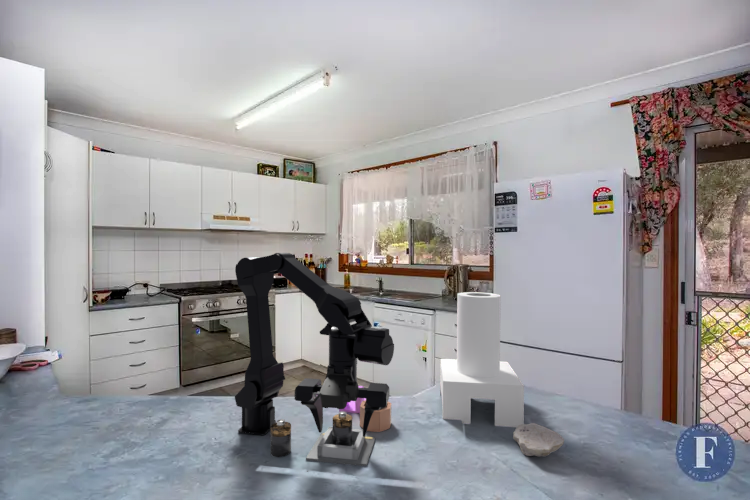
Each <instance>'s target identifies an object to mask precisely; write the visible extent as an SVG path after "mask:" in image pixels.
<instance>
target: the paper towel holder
mask: <svg viewBox="0 0 750 500" xmlns="http://www.w3.org/2000/svg"><path fill="white" fill-rule="evenodd" d="M456 298H457V299H456V300H457V301H456V303H457V306H456V309H457V312H456V315H457V316H456V358H455V359H454V358H440V368H439V369H440V373H439V375H440V378H439V379H440V380H439V382H440V388H439V389H440V390H439V391H440V395H441V404H442V405H441V406H442V410H441V411H442V412H441V413H442V415H441V416H442V420H451V421H452V420H453V421H461V424H463V425H464V424H465V425H471V422H472V421H471V409H472V408H471V407H472V405H471V404H472V403H471V402H472V401H471V400H472V399H475V400H476V399H477V400H492V401H494V426H495V427H504V428H505V427H507V428H517V426H518V425H522V424H525V422H524V421H525V419H524V416H525V411H524V410H525V409H524V408H525V385H524V384H523V382H522V381H521V379H520V377H519V376H518V375H517V373H516V372H515V370H514V369H513V368H512V366H511V365H510V363H509V362H508V361H501V295H500V294H498V293H491V292H480V291H479V292H476V291H468V292H467V291H465V292H457V297H456Z"/></svg>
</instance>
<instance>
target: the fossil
mask: <svg viewBox="0 0 750 500" xmlns="http://www.w3.org/2000/svg"><path fill="white" fill-rule="evenodd" d="M512 436H513V437H512V438H513V440H514V441H515V442H517V444H518V445H519V448H520V452H521V453H522V454H523V455H525V456H527V457H532V456H535V457H538V458H539V457H547V456H549V455H551V453H553V452H556V451H557V450H559V449H560V448H561V447H562V446H563V445H564V443H565V438H564V437H563V436H561V434H560V433H559V432H557V431H554V430H552V429H550V428H548V427H546V426H543V425H539V424H538V423H535V422H531V423H529V424H528V423H524V424H522V425H518V426H517V427H515V430H514V431H513V434H512Z"/></svg>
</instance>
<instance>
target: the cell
mask: <svg viewBox="0 0 750 500" xmlns="http://www.w3.org/2000/svg"><path fill="white" fill-rule="evenodd" d="M332 427H333V433H332V445H342V446H352V429H353V416H352V415H351V414H348V413H347V412H344V411H338V414H337V413H336V414H335V415H333V417H332Z"/></svg>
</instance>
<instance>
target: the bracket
mask: <svg viewBox="0 0 750 500" xmlns="http://www.w3.org/2000/svg"><path fill="white" fill-rule="evenodd" d="M358 388H365V387H364V385H358ZM365 400H366V398H357V400H356V401H351V402H347V406H346V407H345V408H344V409H338V412H341V411H344V412H346V413H352V414H360V405H361V403H362V401H365Z"/></svg>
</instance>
